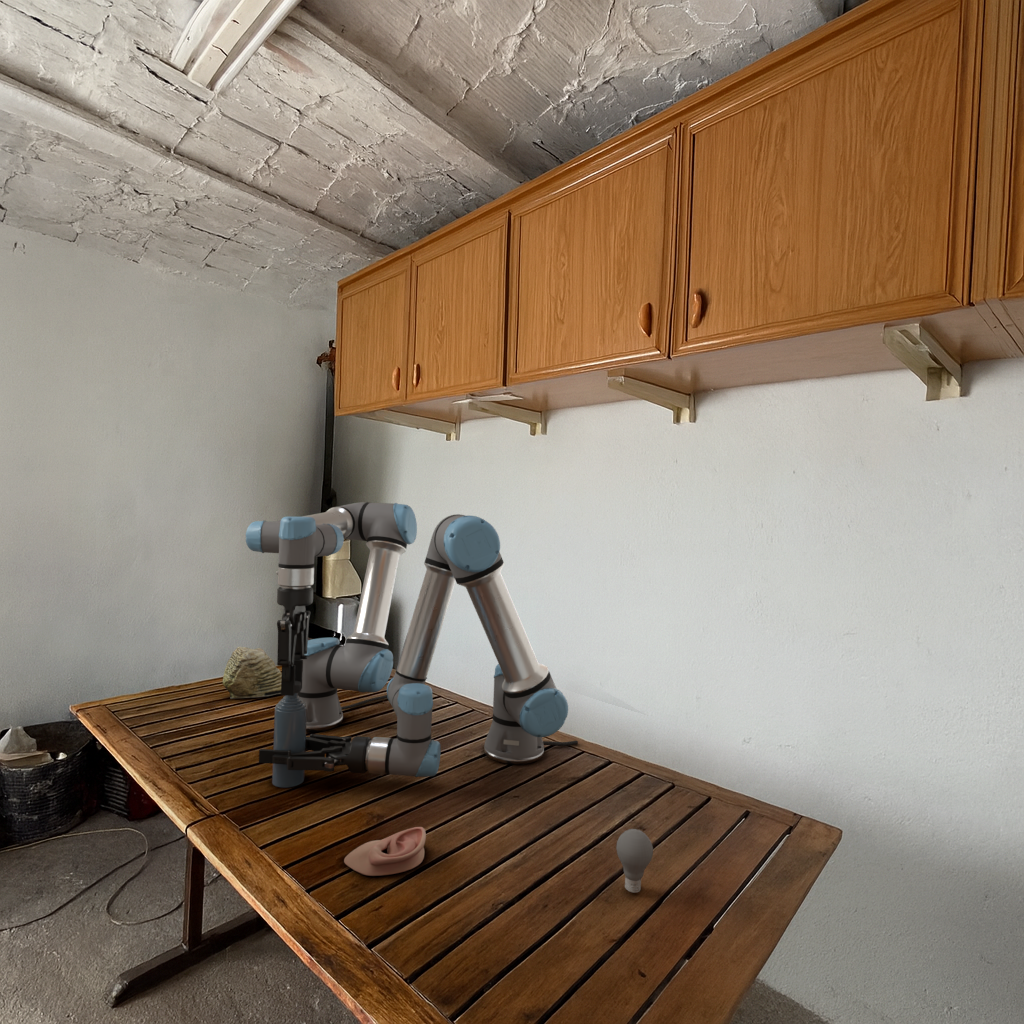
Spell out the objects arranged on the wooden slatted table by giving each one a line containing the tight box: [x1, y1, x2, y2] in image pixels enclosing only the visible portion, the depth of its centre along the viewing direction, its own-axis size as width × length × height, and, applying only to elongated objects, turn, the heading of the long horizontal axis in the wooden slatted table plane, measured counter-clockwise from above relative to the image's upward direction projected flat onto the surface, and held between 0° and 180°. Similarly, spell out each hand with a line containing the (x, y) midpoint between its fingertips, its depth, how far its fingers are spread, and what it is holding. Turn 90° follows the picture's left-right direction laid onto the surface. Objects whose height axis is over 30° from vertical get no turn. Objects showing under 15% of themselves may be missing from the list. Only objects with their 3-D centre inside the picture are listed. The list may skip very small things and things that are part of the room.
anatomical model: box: [343, 826, 427, 877], centre depth 112 cm, size 13×4×12 cm
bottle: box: [271, 693, 307, 789], centre depth 140 cm, size 7×7×21 cm
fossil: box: [222, 646, 282, 699], centre depth 198 cm, size 9×18×15 cm, turn 132°
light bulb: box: [615, 828, 654, 894], centre depth 106 cm, size 6×6×10 cm
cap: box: [294, 681, 301, 693], centre depth 140 cm, size 4×4×2 cm
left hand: (291, 691), depth 140 cm, fingers closed on cap, 4 cm apart
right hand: (267, 749), depth 141 cm, fingers closed on bottle, 7 cm apart
